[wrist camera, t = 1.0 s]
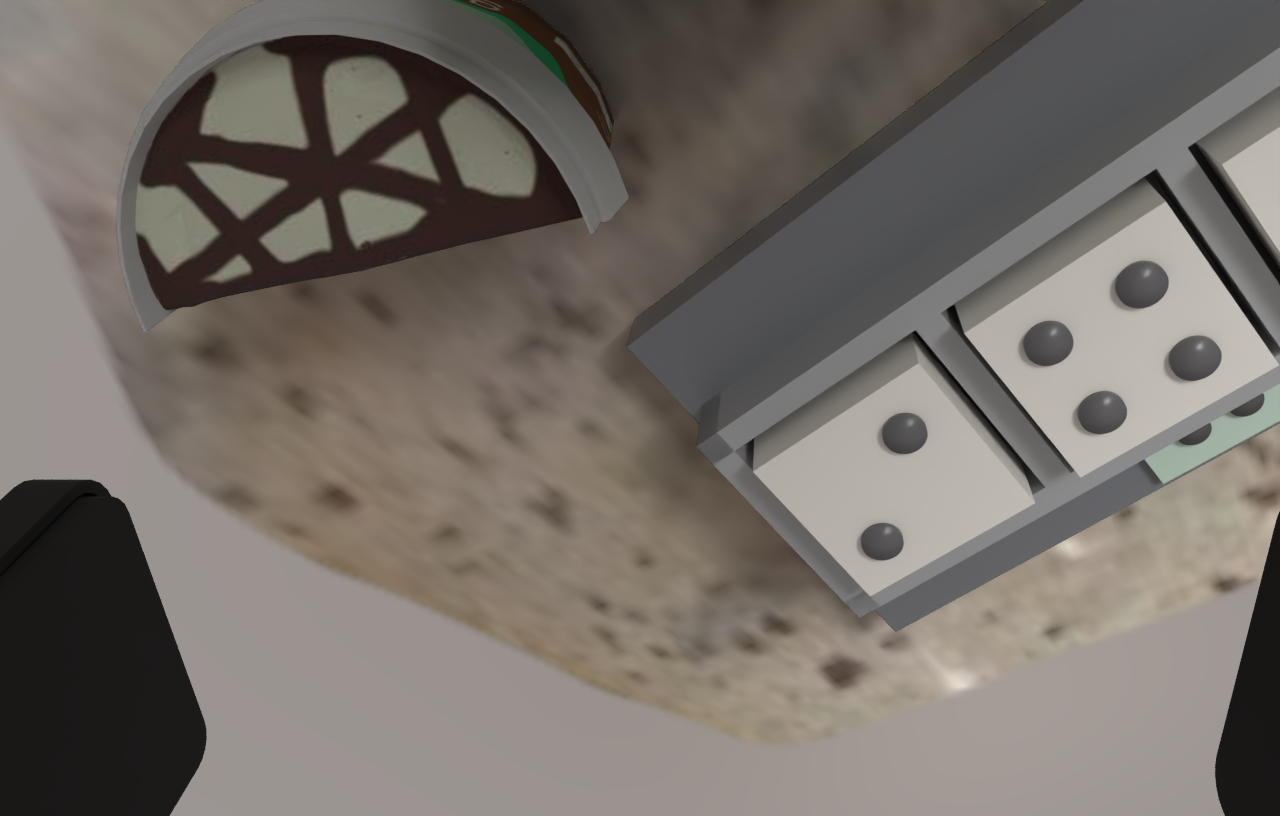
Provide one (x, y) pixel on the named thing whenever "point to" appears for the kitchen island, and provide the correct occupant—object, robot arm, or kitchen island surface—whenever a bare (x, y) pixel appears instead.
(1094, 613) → the kitchen island surface
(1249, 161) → the key one dot
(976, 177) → the keypad
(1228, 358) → the key four dots
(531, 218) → the food container
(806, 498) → the key two dots
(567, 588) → the kitchen island surface
